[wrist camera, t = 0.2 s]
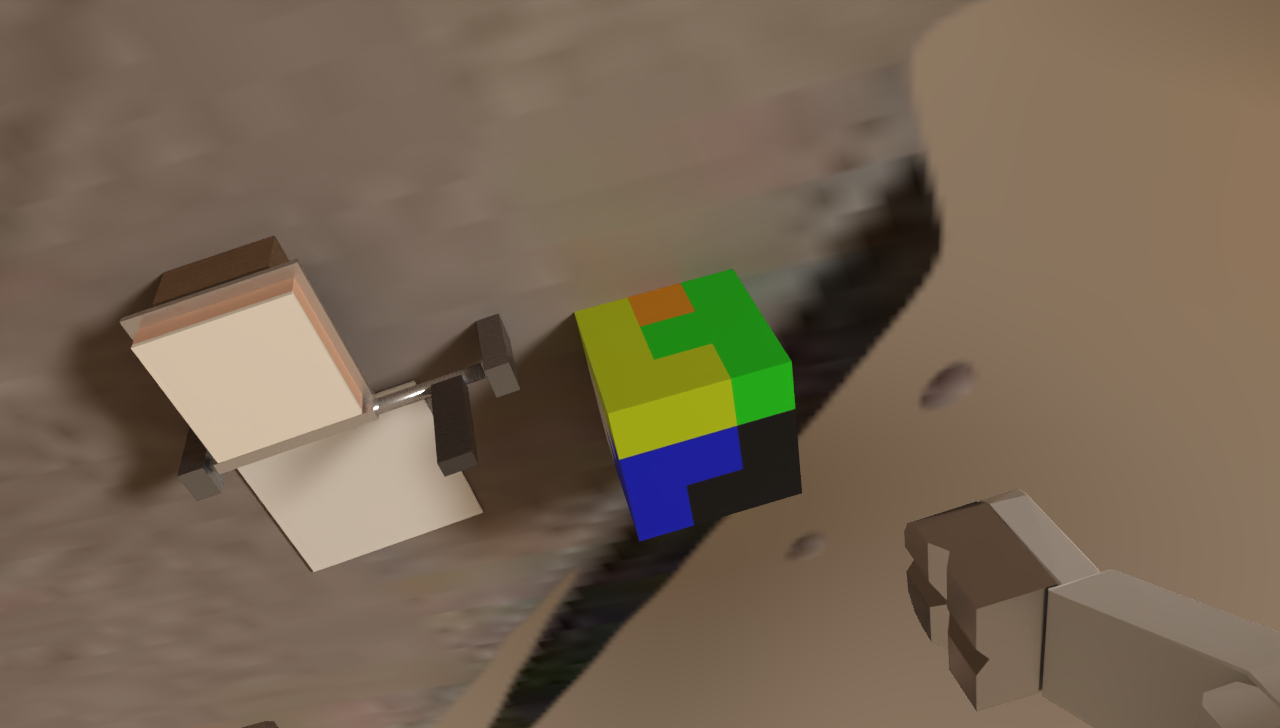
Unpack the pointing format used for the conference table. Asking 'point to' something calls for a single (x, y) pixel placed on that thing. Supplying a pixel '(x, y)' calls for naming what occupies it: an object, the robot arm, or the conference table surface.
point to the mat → (362, 487)
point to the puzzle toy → (693, 402)
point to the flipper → (445, 391)
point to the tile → (250, 370)
